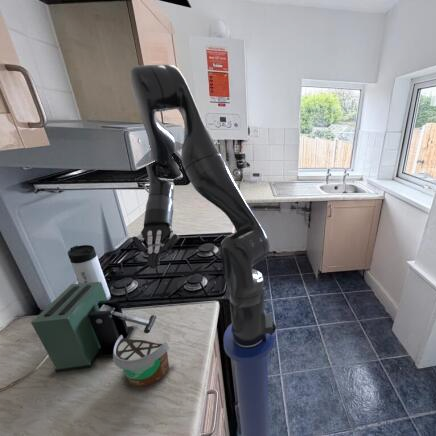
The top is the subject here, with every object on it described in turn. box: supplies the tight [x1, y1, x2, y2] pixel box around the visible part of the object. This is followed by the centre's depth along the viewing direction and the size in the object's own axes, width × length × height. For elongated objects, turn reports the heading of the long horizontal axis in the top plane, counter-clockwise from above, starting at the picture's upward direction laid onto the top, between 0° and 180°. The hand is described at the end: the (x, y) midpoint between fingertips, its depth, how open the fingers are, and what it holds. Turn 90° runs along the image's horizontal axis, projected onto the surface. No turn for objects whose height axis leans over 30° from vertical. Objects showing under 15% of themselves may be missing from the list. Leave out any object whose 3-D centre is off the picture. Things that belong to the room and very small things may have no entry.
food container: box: [112, 335, 170, 389], centre depth 53 cm, size 12×6×10 cm, turn 82°
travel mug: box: [67, 244, 112, 300], centre depth 75 cm, size 6×7×20 cm
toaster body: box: [30, 282, 107, 373], centre depth 60 cm, size 7×13×16 cm, turn 10°
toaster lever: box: [98, 304, 157, 334], centre depth 61 cm, size 13×5×2 cm, turn 101°
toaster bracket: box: [88, 298, 135, 360], centre depth 61 cm, size 5×9×13 cm, turn 10°
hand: (153, 267), depth 67 cm, fingers closed
